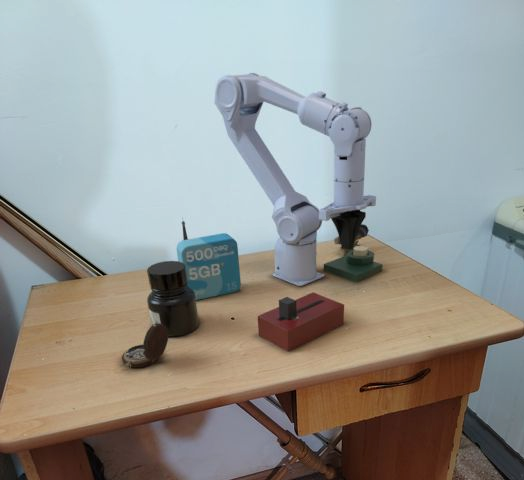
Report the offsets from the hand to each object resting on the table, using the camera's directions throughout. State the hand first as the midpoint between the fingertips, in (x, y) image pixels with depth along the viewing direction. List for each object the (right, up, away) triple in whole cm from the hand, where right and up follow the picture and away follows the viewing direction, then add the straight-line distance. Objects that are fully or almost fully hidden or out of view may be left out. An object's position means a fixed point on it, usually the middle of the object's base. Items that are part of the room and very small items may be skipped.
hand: (347, 247), depth 97 cm
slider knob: (-13, -15, -15) cm, 25 cm away
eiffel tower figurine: (-35, -3, +17) cm, 39 cm away
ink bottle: (-34, -17, -7) cm, 39 cm away
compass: (-38, -24, -18) cm, 48 cm away
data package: (-29, -9, +6) cm, 30 cm away
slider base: (-10, -17, -11) cm, 23 cm away
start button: (+5, +1, +12) cm, 13 cm away
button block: (+3, -3, +12) cm, 13 cm away
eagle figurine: (+5, +4, +23) cm, 24 cm away
